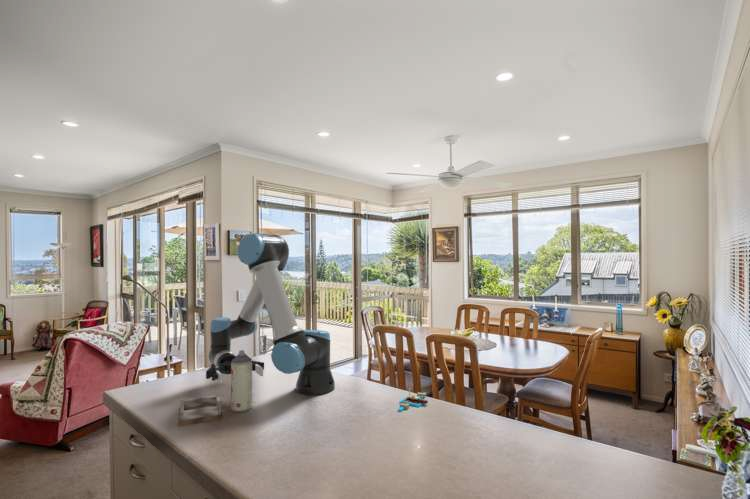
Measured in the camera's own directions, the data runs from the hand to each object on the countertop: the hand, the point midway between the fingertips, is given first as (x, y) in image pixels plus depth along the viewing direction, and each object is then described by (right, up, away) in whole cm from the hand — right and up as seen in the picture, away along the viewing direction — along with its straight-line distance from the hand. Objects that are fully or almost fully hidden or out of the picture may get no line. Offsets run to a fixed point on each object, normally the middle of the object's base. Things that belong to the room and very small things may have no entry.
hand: (242, 375), depth 137 cm
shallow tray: (-13, -12, -4) cm, 18 cm away
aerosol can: (-1, -12, +1) cm, 12 cm away
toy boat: (+59, -12, +7) cm, 61 cm away
